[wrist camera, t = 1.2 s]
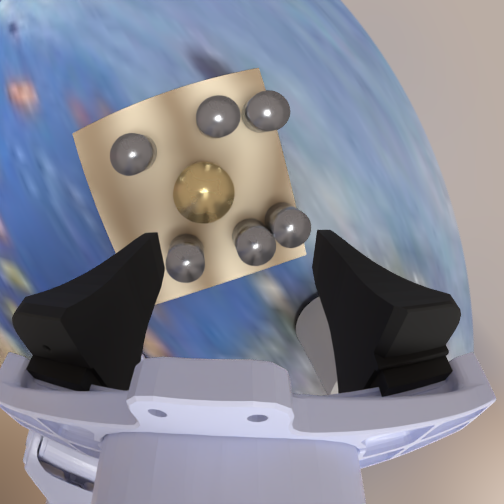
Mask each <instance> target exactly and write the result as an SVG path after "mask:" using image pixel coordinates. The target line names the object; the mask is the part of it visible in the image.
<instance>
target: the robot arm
mask: <svg viewBox="0 0 504 504" xmlns="http://www.w3.org/2000/svg"><path fill="white" fill-rule="evenodd" d="M312 269H313V275H314V280H315V285H316V288H317V291H318V294H319V297H320V300H321V303H322V306H323V309H324V312H325V315H326V319H327V322H328V325H329V329H330V334H331V339H332V345H333V351H334V358H335V364H336V373H337V382H338V394H331V395H322V396H319V395H305V394H294V393H292V389H291V381H290V377H289V374H288V371H287V370H286V369H284V368H282V367H280V366H278V365H276V364H274V363H272V362H270V361H261V360H253V359H194V358H175V357H154V358H145V356H144V355H143V354H142V350H143V344H144V339H145V334H146V330H147V326H148V323H149V320H150V317H151V314H152V311H153V309H154V306H155V303H156V300H157V298H158V295H159V292H160V289H161V286H162V282H163V277H164V272H165V266H164V261H163V256H162V252H161V247H160V242H159V237H158V232H150V233H144V234H142V235H141V236H139V237H138V238H136V239H135V240H133V241H132V242H131V243H129V244H128V245H127V246H125V247H124V248H123V249H121V250H120V251H119V252H117V253H116V254H114V255H113V256H112V257H110V258H109V259H107V260H106V261H104V262H103V263H101V264H100V265H98V266H97V267H95V268H94V269H92V270H90V271H88V272H87V273H85V274H83V275H81V276H79V277H77V278H75V279H73V280H71V281H69V282H67V283H65V284H62V285H60V286H58V287H55V288H52V289H50V290H47V291H44V292H41V293H38V294H34V295H31V296H27V297H25V298H24V300H23V301H22V303H21V304H20V306H19V307H18V308H17V310H16V311H15V313H14V315H13V317H12V321H13V325H14V328H15V330H16V332H17V334H18V335H19V337H20V338H21V340H22V341H23V342H24V344H25V345H26V347H27V348H28V349H29V351H30V352H31V353H32V355H33V356H32V358H31V360H28V359H27V358H26V357H24V356H21V355H18V354H15V353H12V352H9V353H8V355H7V357H6V358H5V360H4V362H3V364H2V366H1V368H0V408H1V409H2V410H4V411H5V412H6V413H7V414H8V415H9V416H11V417H12V418H13V419H14V420H16V421H17V422H18V423H19V424H20V425H22V426H24V427H26V428H27V429H29V433H28V436H27V440H26V450H25V454H24V458H23V462H24V464H25V470H26V471H27V473H28V475H29V476H30V477H31V479H32V480H33V481H34V483H35V484H36V485H37V487H38V488H39V489H40V490H41V492H42V493H43V494H44V496H45V497H46V498H47V500H46V504H366V500H365V493H364V487H363V481H362V475H361V470H360V469H361V468H365V467H368V466H371V465H375V464H378V463H381V462H384V461H387V460H390V459H393V458H396V457H399V456H401V455H404V454H406V453H409V452H411V451H414V450H416V449H419V448H421V447H423V446H426V445H428V444H431V443H433V442H435V441H437V440H440V439H442V438H444V437H446V436H449V435H451V434H453V433H455V432H457V431H459V430H461V429H463V428H464V427H465V426H467V425H468V424H469V423H470V422H472V421H473V420H474V419H475V418H477V417H478V416H479V415H480V414H481V413H482V412H484V411H485V410H486V409H487V408H488V407H489V406H490V405H491V404H492V403H494V402H495V400H496V397H495V395H494V392H493V390H492V388H491V386H490V384H489V382H488V380H487V377H486V375H485V373H484V371H483V369H482V367H481V365H480V364H479V362H478V360H477V358H476V356H475V354H474V352H471V353H468V354H465V355H462V356H458V357H456V358H454V359H452V360H451V361H449V362H448V360H447V358H446V355H447V354H448V353H449V351H448V349H447V347H446V343H447V342H448V340H449V339H450V337H451V336H452V334H453V333H454V331H455V329H456V328H457V326H458V324H459V321H460V316H461V312H460V309H459V307H458V306H457V304H456V302H455V301H454V299H453V298H452V296H451V295H450V294H447V293H444V292H440V291H437V290H433V289H430V288H427V287H424V286H421V285H419V284H416V283H413V282H411V281H409V280H406V279H404V278H402V277H400V276H398V275H396V274H394V273H392V272H390V271H388V270H387V269H385V268H383V267H381V266H380V265H378V264H376V263H375V262H373V261H372V260H370V259H369V258H367V257H366V256H364V255H363V254H362V253H360V252H359V251H358V250H356V249H355V248H354V247H352V246H351V245H350V244H348V243H347V242H346V241H345V240H343V239H342V238H341V237H339V236H338V235H337V234H336V233H334V232H333V231H331V230H317V235H316V243H315V251H314V258H313V265H312Z"/></svg>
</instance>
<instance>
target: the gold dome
mask: <svg viewBox="0 0 504 504" xmlns="http://www.w3.org/2000/svg"><path fill="white" fill-rule="evenodd" d="M234 195H235V190H234V185H233V182H232V180H231V178H230V176H229V175H228V174H227V172H226V171H225V170H223V169H222V168H221V167H220V166H218V165H217V164H214V163H211V162H206V161H201V162H196V163H193V164H191V165H189V166H188V167H186V168H185V169H184V170H183V171H182V172H181V174H180V175H179V177H178V178H177V180H176V182H175V185H174V189H173V199H174V203H175V206H176V208H177V210H178V211H179V212H180V214H181V215H182V216H183V217H185V218H186V219H188V220H190V221H192V222H195V223H200V224H206V223H212V222H215V221H217V220H219V219H220V218H222V217H223V216H224V215H225V214H226V213H227V212H228V211H229V210H230V208H231V206H232V204H233V201H234Z"/></svg>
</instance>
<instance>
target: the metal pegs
mask: <svg viewBox="0 0 504 504" xmlns="http://www.w3.org/2000/svg"><path fill="white" fill-rule="evenodd" d="M240 117H242V121H243V123H244V124H245V126H246V127H247V128H248V129H250V130H251V131H254V132H258V133H263V132H269V131H274V130H278V129H280V128H282V127H283V126H284V125H285V124H286V123H287V121H288V119H289V117H290V107H289V104H288V102H287V100H286V99H285V98H284V97H283V96H282V95H281V94H279V93H277V92H275V91H270V90H266V91H261V92H259V93H257V94H256V95H254V96H253V97H252V98H251V99H250V100H249V101H247V102H246V103H245V105H244V106H243V108H242V112H241V114H240V109H239V107H238V105H237V104H236V103H235V102H234V101H233V100H232V99H230V98H229V97H226V96H222V95H216V96H212V97H209V98H207V99H205V100H204V101H203V102H202V103H201V104H200V106H199V107H198V109H197V113H196V123H197V127H198V129H199V131H200V132H201V133H202V134H203V135H205V136H206V137H209V138H213V139H217V138H222V137H224V136H227V135H229V134H231V133H232V132H233V131H234V130H235V129H236V128H237V127H238V125H239V122H240ZM156 156H157V148H156V145H155V143H154V141H153V140H152V139H151V138H150V137H148V136H146V135H141V134H136V133H127V134H124V135H122V136H120V137H119V138H118V139H117V140H116V141H115V142H114V143H113V145H112V147H111V150H110V161H111V164H112V166H113V168H114V169H115V170H116V171H117V172H118V173H120V174H122V175H125V176H132V175H136V174H138V173H140V172H142V171H145V170H147V169H148V168H150V167H151V166H152V165H153V163H154V162H155V159H156ZM265 226H266V227H265ZM310 232H311V223H310V220H309V218H308V217H307V215H305V214H304V213H303V212H301V211H300V210H298V209H297V208H295V207H294V206H292V205H291V204H289V203H286V202H279V203H276V204H274V205H272V206H271V207H270V208H269V209H268V210H267V212H266V215H265V225H264V224H263V223H262V222H261V221H259V220H257V219H254V218H248V219H244V220H242V221H240V222H239V223H238V224H237V225H236V226H235V228H234V230H233V233H232V239H233V242H234V245H235V248H236V250H237V253H238V256H239V257H240V259H241V260H242V261H243V262H244V263H246V264H247V265H250V266H260V265H263V264H265V263H267V262H268V261H270V260H271V258H272V257H273V256H274V254H275V251H276V241H277V242H278V243H279V244H280V245H281V246H283V247H286V248H295V247H298V246H300V245H302V244H303V243H304V242H305V241H306V240H307V239H308V237H309V235H310ZM275 240H276V241H275ZM165 265H166V270H167V272H168V274H169V275H170V277H171V278H173V279H174V280H176V281H178V282H181V283H190V282H193V281H195V280H197V279H198V278H200V277H201V275H202V274H203V272H204V269H205V257H204V247H203V244H202V242H201V241H200V239H199V238H198V237H196V236H194V235H192V234H181V235H178V236H176V237H175V238H174V239H173V240H172V241H171V243H170V246H169V250H168V254H167V258H166V263H165Z"/></svg>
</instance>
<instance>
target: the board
mask: <svg viewBox="0 0 504 504" xmlns="http://www.w3.org/2000/svg"><path fill="white" fill-rule="evenodd" d="M261 91H266V90H265V87H264V83H263V80H262V77H261V73H260V70H259V68H256V69H251V70H246V71H241V72H236V73H232V74H228V75H223V76H219V77H215V78H212V79H208V80H204V81H201V82H197V83H194V84H190V85H187V86H184V87H181V88H178V89H174V90H171V91H169V92H166V93H163V94H160V95H157V96H154V97H152V98H149V99H146V100H144V101H141V102H139V103H136V104H134V105H131V106H129V107H127V108H124V109H122V110H120V111H117V112H115V113H113V114H111V115H109V116H106V117H104V118H102V119H100V120H98V121H96V122H94V123H92V124H90V125H88V126H86V127H84V128H82V129H80V130H78V131H76V132H75V133H73V137H74V141H75V144H76V148H77V151H78V154H79V158H80V161H81V164H82V167H83V170H84V173H85V176H86V179H87V182H88V185H89V188H90V191H91V193H92V196H93V199H94V201H95V204H96V207H97V209H98V212H99V214H100V217H101V219H102V222H103V224H104V227H105V229H106V232H107V234H108V236H109V239H110V241H111V243H112V246H113V248H114V250H115V252H116V253H117V252H119V251H120V250H121V249H123V248H124V247H125V246H127V245H128V244H129V243H131V242H132V241H133V240H135V239H136V238H138V237H139V236H141V235H142V234H144V233H150V232H158V237H159V242H160V247H161V252H162V256H163V261H164V266H165V272H164V277H163V282H162V286H161V289H160V292H159V295H158V298H157V300H156V303H155V305H156V304H159V303H162V302H165V301H168V300H172V299H175V298H178V297H181V296H184V295H187V294H190V293H194V292H197V291H200V290H203V289H206V288H209V287H212V286H215V285H218V284H221V283H224V282H227V281H230V280H233V279H236V278H239V277H242V276H245V275H248V274H251V273H254V272H257V271H260V270H263V269H266V268H269V267H272V266H275V265H278V264H281V263H284V262H287V261H290V260H292V259H295V258H298V257H301V256H304V255H306V251H305V246H304V243H303V244H302V245H300V246H298V247H295V248H286V247H283V246H281V245H280V244H279V243H278V242H277V241H276V240H275V241H276V251H275V254H274V256H273V257H272V258H271V260H270V261H268V262H267V263H265V264H263V265H260V266H250V265H247V264H246V263H244V262H243V261H242V260H241V259H240V257H239V256H238V253H237V250H236V248H235V245H234V242H233V239H232V233H233V230H234V228H235V226H236V225H237V224H238V223H239V222H240V221H242V220H244V219H248V218H254V219H257V220H259V221H261V222H262V223H263V224H264V225H265V215H266V212H267V210H268V209H269V208H270V207H271V206H272V205H274V204H276V203H279V202H286V203H289V204H291V205H292V206H294V207H295V208H296V205H295V200H294V196H293V192H292V187H291V183H290V179H289V175H288V171H287V167H286V163H285V159H284V155H283V151H282V147H281V144H280V140H279V136H278V132H277V130H274V131H269V132H263V133H258V132H254V131H251V130H250V129H248V128H247V127H246V126H245V124H244V123H243V121H242V117H240V122H239V125H238V127H237V128H236V129H235V130H234V131H233V132H232V133H231V134H229V135H227V136H224V137H222V138H217V139H213V138H209V137H206V136H205V135H203V134H202V133H201V132H200V131H199V129H198V127H197V123H196V113H197V109H198V107H199V106H200V104H201V103H202V102H203V101H204V100H205V99H207V98H209V97H212V96H216V95H222V96H226V97H229V98H230V99H232V100H233V101H234V102H235V103H236V104H237V105H238V107H239V109H240V114H241V112H242V108H243V106H244V105H245V103H246V102H247V101H249V100H250V99H251V98H252V97H253V96H254V95H256V94H257V93H259V92H261ZM127 133H136V134H141V135H146V136H148V137H150V138H151V139H152V140H153V141H154V143H155V145H156V148H157V156H156V159H155V162H154V163H153V165H152V166H151V167H150V168H148V169H147V170H145V171H142V172H140V173H138V174H136V175H132V176H125V175H122V174H120V173H118V172H117V171H116V170H115V169H114V168H113V166H112V164H111V161H110V150H111V147H112V145H113V143H114V142H115V141H116V140H117V139H118V138H119V137H120V136H122V135H124V134H127ZM201 161H206V162H211V163H214V164H217V165H218V166H220V167H221V168H222V169H223V170H225V171H226V172H227V174H228V175H229V176H230V178H231V180H232V182H233V185H234V190H235V195H234V201H233V204H232V206H231V208H230V210H229V211H228V212H227V213H226V214H225V215H224V216H223V217H222V218H220V219H219V220H217V221H215V222H212V223H206V224H200V223H195V222H192V221H190V220H188V219H186V218H185V217H183V216H182V215H181V214H180V212H179V211H178V210H177V208H176V206H175V203H174V199H173V189H174V185H175V182H176V180H177V178H178V177H179V175H180V174H181V172H182V171H183V170H184V169H185V168H186V167H188V166H189V165H191V164H193V163H196V162H201ZM265 227H266V226H265ZM181 234H192V235H194V236H196V237H198V238H199V239H200V241H201V242H202V244H203V247H204V257H205V269H204V272H203V274H202V275H201V277H200V278H198V279H197V280H195V281H193V282H190V283H181V282H178V281H176V280H174V279H173V278H171V277H170V275H169V274H168V272H167V270H166V265H165V263H166V258H167V254H168V250H169V246H170V243H171V241H172V240H173V239H174V238H175V237H176V236H178V235H181Z"/></svg>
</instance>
